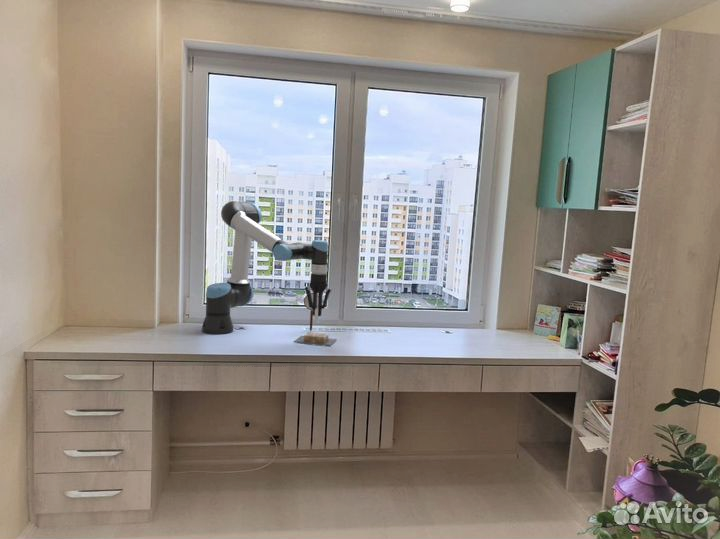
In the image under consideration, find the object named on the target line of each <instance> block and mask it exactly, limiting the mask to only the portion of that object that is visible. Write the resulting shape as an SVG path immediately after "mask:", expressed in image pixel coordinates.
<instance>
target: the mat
mask: <svg viewBox="0 0 720 539" xmlns="http://www.w3.org/2000/svg"><path fill="white" fill-rule="evenodd" d="M336 340H338V339H337V338H329V337H328V341H327V342H326V343H325V344H322V343H313V342H304V335H300V336H299V337H297V338H296V339H295V340H293V343H294V342H297V343H296V344H302V343H306V344H305V345H312V344H315V345H314V346H321V345H325V346H324V347H331V345H332V344H333V343H334V342H335V341H336ZM336 342H337V341H336ZM336 342H335V343H336ZM335 343H334V344H335ZM334 344H333V345H334ZM333 345H332V346H333Z"/></svg>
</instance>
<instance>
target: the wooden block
mask: <svg viewBox="0 0 720 539" xmlns="http://www.w3.org/2000/svg"><path fill="white" fill-rule="evenodd" d="M303 336H304V342H313V343H322V344H325V343H326V342H327V341H328V338H329V333H321V332H320V333H319V332H312V331H308V332H307V333H305V334H304V335H303Z"/></svg>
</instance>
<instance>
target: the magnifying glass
mask: <svg viewBox="0 0 720 539" xmlns="http://www.w3.org/2000/svg"><path fill="white" fill-rule="evenodd" d="M311 297H312V302H313V292H311ZM318 299H319V295H318V294H317V308H316V309H318ZM303 305H304V307H305V308H306V309H308V310H310V314H309V315H310V316H309V318H310V319H309V320H310V321H309V332H312V331H313V320H314V319H313V317H314V316H313V308H311V307H309V302H308V297H307V294H306V296H304V298H303Z"/></svg>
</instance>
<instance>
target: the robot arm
mask: <svg viewBox="0 0 720 539" xmlns="http://www.w3.org/2000/svg"><path fill="white" fill-rule="evenodd" d="M220 215H221V216H220V218H221V219H222V221H223V222H224V223H225V225H226V226H228V227H230V228H231V229H233V230H234V237H233V238H234V240H233V249H232V250H233V251H232V259H231V270H230V277H229V278H227V280H226V282H215V283H212V284H209V285H208V286H207V287H206V292H205V317H204V321H203V323H202V326H201V331H202V332H203V333H205V334H210V335H225V334H230V333H232V332H234V324H233V321H232V317H231V309H232V308H237V307H243V306H246V305H249V303H251V302H252V300H253V297H254V295H255V294H254V288H253V287H252V285H251V280H249V278H248V277H249V269H250V261H251V260H250V259H251V257H250V256H251V249H252V241H254V242H255V243H258V244H259V245H261V246H262V247H263V248H265V249H266V250H268V251H269V252H271V253H272V255H273V257H274V258H275V260H277V261H282V262H285V261H292V260H293V261H294V260H309V261H311V262H310V272H311V273H310V282H309V284H308V285H307V286H305V287H304V291H305V292H306V295H307V297H308V302H309V307H311V308H313V317H314V324H319V322H320V317H322V310H323V309H325V308H326V307H327V303H328V300H329V296H330V293H332V290H333V288H330V287H328V284H327V280H328V278H327V277H328V276H327V273H328V254H329V246H328V245H329V244H328V241H327V240H321V239H314V240H312V242H311V243H304V242H292V243H288V242H287V241H285V240H283V239H282V238H280V237H279V236H277V235H276V234H274V233H273V232H272V231H270V230H268V229H267V228H265V227H263V225H261V224H260V223H261V221H262V216H263V214H262V211H261V208H260V207H259V206H258V205H257V204H256V203H254V202H250V201H233V200H232V201H229V202H226V203H225V204H224V205H223V206H222V208H221V212H220ZM311 291H312V292H311ZM324 292H325V294H324V299H323V293H324ZM311 293H313V302H312V297H311ZM317 295H318V296H319V299H318V308H317ZM316 308H317V309H316Z"/></svg>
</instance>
